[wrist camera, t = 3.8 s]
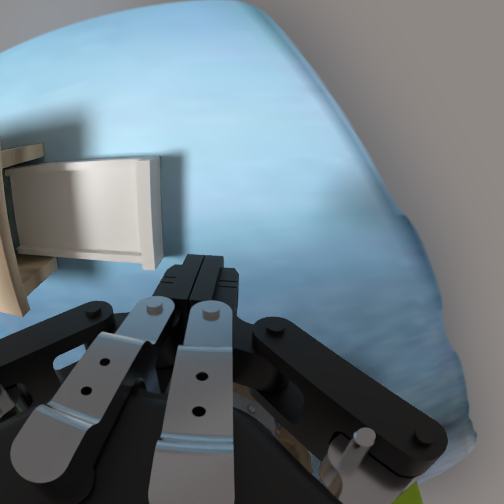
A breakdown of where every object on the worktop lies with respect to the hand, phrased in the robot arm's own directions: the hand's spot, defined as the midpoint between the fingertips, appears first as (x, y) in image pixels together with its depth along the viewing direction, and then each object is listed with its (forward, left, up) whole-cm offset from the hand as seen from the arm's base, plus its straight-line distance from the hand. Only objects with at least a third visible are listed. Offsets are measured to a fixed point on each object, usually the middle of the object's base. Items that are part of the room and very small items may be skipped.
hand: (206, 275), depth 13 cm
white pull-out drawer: (+6, +11, -11) cm, 16 cm away
